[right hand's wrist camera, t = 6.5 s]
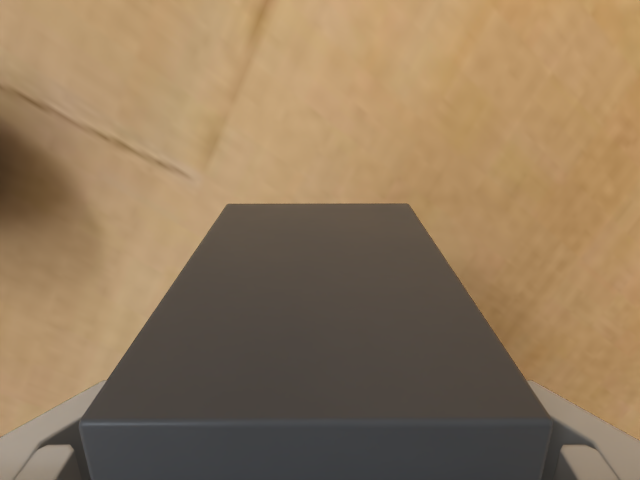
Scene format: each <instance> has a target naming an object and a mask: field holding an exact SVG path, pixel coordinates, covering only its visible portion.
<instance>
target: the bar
mask: <svg viewBox="0 0 640 480" xmlns="http://www.w3.org/2000/svg"><path fill="white" fill-rule="evenodd" d="M552 430H553V422H552V419H551V417H550V415H549V414H548V412H547V411H546V409H545V408H544V406H543V405H542V403H541V402H540V400H539V399H538V397H537V396H536V394H535V393H534V391H533V390H532V388H531V387H530V385H529V384H528V382H527V381H526V379H525V378H524V376H523V375H522V373H521V372H520V370H519V369H518V367H517V366H516V364H515V363H514V361H513V360H512V358H511V357H510V355H509V354H508V352H507V351H506V349H505V348H504V346H503V345H502V343H501V342H500V340H499V339H498V337H497V336H496V334H495V333H494V331H493V330H492V328H491V327H490V325H489V324H488V322H487V321H486V319H485V318H484V316H483V315H482V313H481V312H480V310H479V309H478V307H477V306H476V304H475V303H474V301H473V300H472V298H471V297H470V295H469V294H468V292H467V291H466V289H465V288H464V286H463V285H462V283H461V282H460V280H459V279H458V277H457V276H456V274H455V273H454V271H453V270H452V268H451V267H450V265H449V264H448V262H447V261H446V259H445V258H444V256H443V255H442V253H441V252H440V250H439V249H438V247H437V246H436V244H435V243H434V241H433V240H432V238H431V237H430V235H429V234H428V232H427V231H426V229H425V228H424V226H423V225H422V223H421V222H420V220H419V219H418V217H417V216H416V214H415V213H414V211H413V210H412V208H411V207H410V205H409V204H228V205H226V207H225V208H224V210H223V211H222V212H221V214H220V215H219V217H218V218H217V220H216V221H215V223H214V224H213V226H212V227H211V229H210V230H209V232H208V233H207V234H206V236H205V237H204V239H203V240H202V242H201V243H200V245H199V246H198V248H197V249H196V251H195V252H194V253H193V255H192V256H191V258H190V259H189V261H188V262H187V264H186V265H185V267H184V268H183V270H182V271H181V273H180V274H179V275H178V277H177V278H176V280H175V281H174V283H173V284H172V286H171V287H170V289H169V290H168V292H167V293H166V295H165V296H164V297H163V299H162V300H161V302H160V303H159V305H158V306H157V308H156V309H155V311H154V312H153V314H152V315H151V316H150V318H149V319H148V321H147V322H146V324H145V325H144V327H143V328H142V330H141V331H140V333H139V334H138V336H137V337H136V338H135V340H134V341H133V343H132V344H131V346H130V347H129V349H128V350H127V352H126V353H125V355H124V356H123V358H122V359H121V360H120V362H119V363H118V365H117V366H116V368H115V369H114V371H113V372H112V374H111V375H110V377H109V378H108V379H107V381H106V382H105V384H104V385H103V387H102V388H101V390H100V391H99V393H98V394H97V396H96V397H95V399H94V400H93V401H92V403H91V404H90V406H89V407H88V409H87V410H86V412H85V413H84V415H83V416H82V418H81V419H80V422H79V432H80V436H81V440H82V444H83V448H84V453H85V457H86V461H87V465H88V469H89V473H90V478H91V480H541V478H542V473H543V469H544V465H545V460H546V456H547V452H548V447H549V443H550V438H551V434H552Z"/></svg>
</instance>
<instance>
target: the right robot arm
mask: <svg viewBox="0 0 640 480" xmlns="http://www.w3.org/2000/svg"><path fill="white" fill-rule="evenodd" d="M106 381H107V380H103V381H101V382H99V383H98V384H96V385H94V386H92V387H90V388H89V389H87V390H85V391H83V392H81V393H80V394H78V395H76V396H74V397H72V398H70V399H69V400H67V401H65V402H63V403H61V404H60V405H58V406H56V407H54V408H52V409H51V410H49V411H47V412H45V413H43V414H42V415H40V416H38V417H36V418H34V419H32V420H31V421H29V422H27V423H25V424H23V425H22V426H20V427H18V428H16V429H14V430H13V431H11V432H9V433H7V434H5V435H4V436H2V437H0V480H91V478H90V473H89V469H88V465H87V461H86V457H85V453H84V448H83V444H82V440H81V436H80V432H79V422H80V419H81V418H82V416H83V415H84V413H85V412H86V410H87V409H88V407H89V406H90V404H91V403H92V401H93V400H94V399H95V397H96V396H97V394H98V393H99V391H100V390H101V388H102V387H103V385H104V384H105V382H106ZM526 381H527V382H528V384H529V385H530V387H531V388H532V390H533V391H534V393H535V394H536V396H537V397H538V399H539V400H540V402H541V403H542V405H543V406H544V408H545V409H546V411H547V412H548V414H549V415H550V417H551V419H552V422H553V430H552V434H551V438H550V443H549V447H548V452H547V456H546V460H545V465H544V469H543V473H542V478H541V480H640V441H639V440H637V439H636V438H634V437H632V436H630V435H629V434H627V433H625V432H623V431H621V430H620V429H618V428H616V427H614V426H612V425H611V424H609V423H607V422H605V421H604V420H602V419H600V418H598V417H596V416H595V415H593V414H591V413H589V412H588V411H586V410H584V409H582V408H580V407H579V406H577V405H575V404H573V403H571V402H570V401H568V400H566V399H564V398H563V397H561V396H559V395H557V394H555V393H554V392H552V391H550V390H548V389H546V388H545V387H543V386H541V385H539V384H538V383H536V382H534V381H532V380H526Z"/></svg>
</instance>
